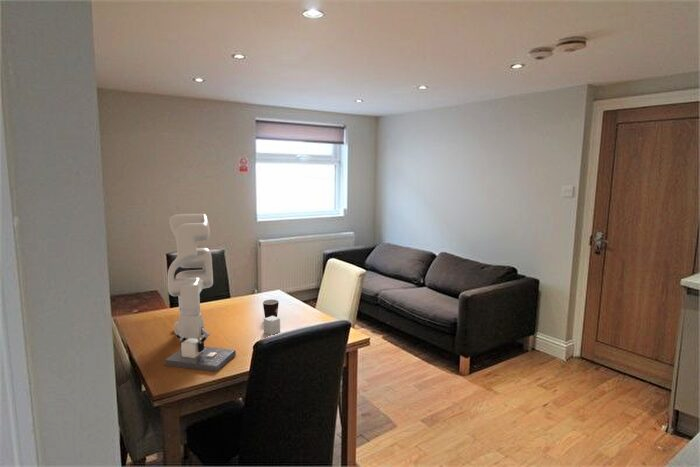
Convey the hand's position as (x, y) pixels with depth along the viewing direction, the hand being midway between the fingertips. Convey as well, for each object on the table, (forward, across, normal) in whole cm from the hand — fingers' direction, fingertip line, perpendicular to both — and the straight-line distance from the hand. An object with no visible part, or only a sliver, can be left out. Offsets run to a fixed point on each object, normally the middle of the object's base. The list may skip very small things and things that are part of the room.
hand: (192, 349), depth 183 cm
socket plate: (+4, +4, 0) cm, 6 cm away
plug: (+4, 0, 0) cm, 4 cm away
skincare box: (+5, +21, +37) cm, 43 cm away
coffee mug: (+5, +14, +55) cm, 57 cm away
